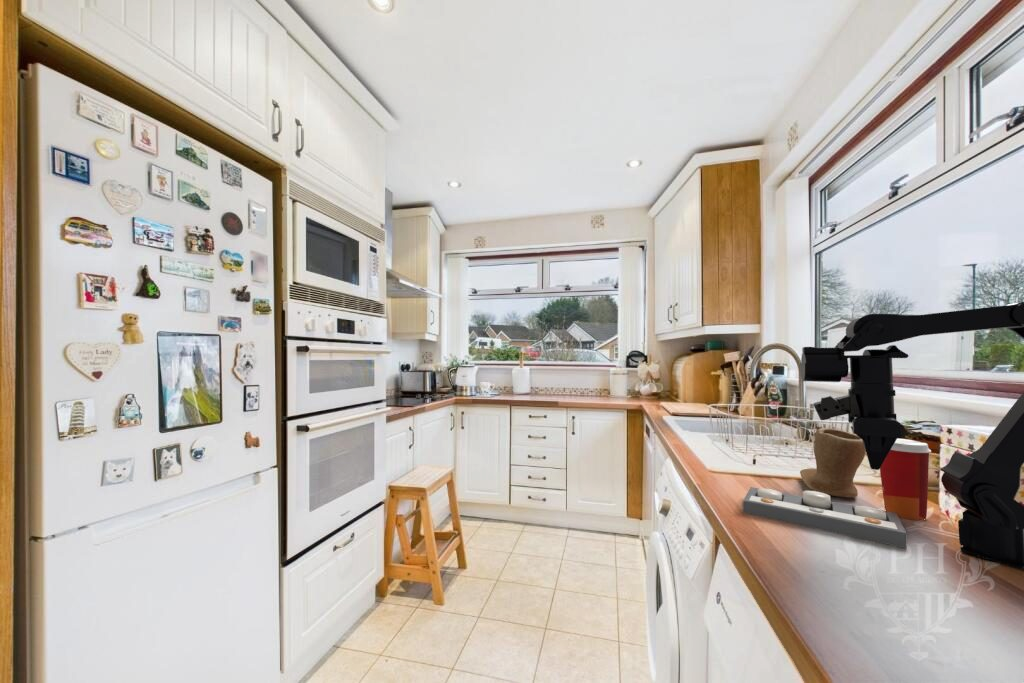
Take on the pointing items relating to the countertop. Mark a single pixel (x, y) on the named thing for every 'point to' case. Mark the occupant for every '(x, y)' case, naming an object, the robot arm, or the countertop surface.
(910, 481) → the coffee cup
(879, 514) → the button
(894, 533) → the button board
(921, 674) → the countertop surface
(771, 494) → the button
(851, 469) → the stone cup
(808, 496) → the button middle
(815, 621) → the countertop surface
